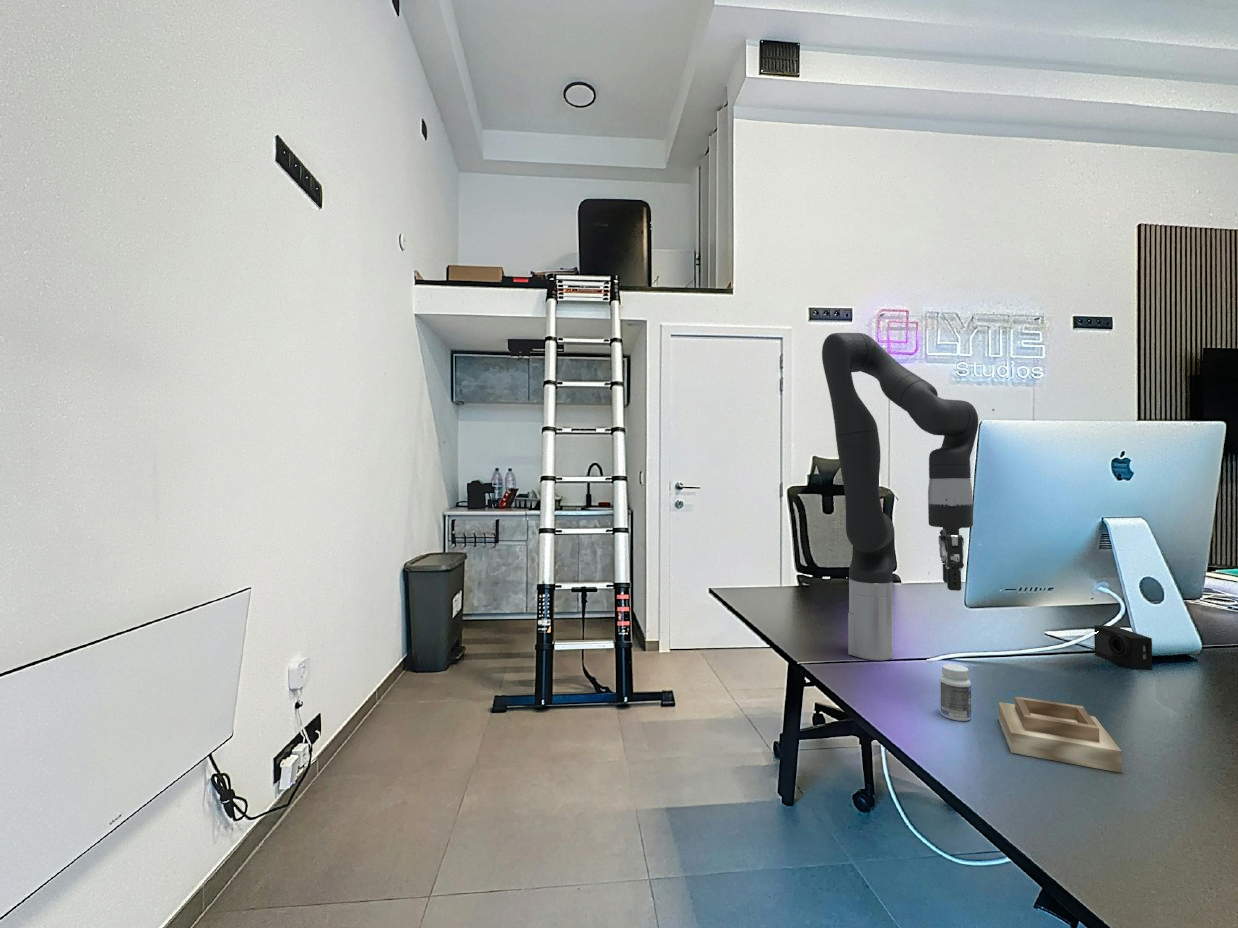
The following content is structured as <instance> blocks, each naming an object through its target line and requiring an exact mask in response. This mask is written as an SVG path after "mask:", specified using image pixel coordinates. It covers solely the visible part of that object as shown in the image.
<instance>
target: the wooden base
mask: <svg viewBox="0 0 1238 928" xmlns="http://www.w3.org/2000/svg"><path fill="white" fill-rule="evenodd" d="M998 721H999V722H998V723H999V724H1000V727H1001V730H1002V732H1003V734H1004V737H1005V740H1006V742H1007V745H1008V747H1009V751H1010V753H1011V754H1017V755H1023V756H1028V757H1033V758H1039V759H1044V760H1050V761H1056V762H1062V763H1066V764H1071V765H1078V766H1082V767H1088V768H1094V769H1100V770H1103V771H1104V770H1105V771H1108V772H1109V771H1111V772H1115V773H1120V774H1122V773H1123V766H1122V765H1123V762H1122V760H1123V759H1122V758H1123V757H1122V756H1123V755H1122V750H1121V748H1120V747H1119V746H1118V745H1117V744H1116V742H1115V740H1114V739H1113V738H1112V737H1111V736H1110V734H1109V733H1108V732H1107V731H1106V729H1105V728H1104V727H1103V725H1102V724H1101V723H1100V722H1099V720H1098V719H1097V718H1096V716H1092V715H1089V713H1088V711H1087V710H1086V709H1085V707H1084V706H1083V705H1077V704H1069V703H1062V702H1055V701H1051V700H1050V701H1049V700H1041V699H1035V698H1027V697H1022V696H1014V703H1007V702H1000V701H998Z"/></svg>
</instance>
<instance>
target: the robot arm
mask: <svg viewBox="0 0 1238 928" xmlns="http://www.w3.org/2000/svg"><path fill="white" fill-rule="evenodd" d="M821 348H822V350H821V359H822V360H821V361H822V365H823V369H824V370H823V371H824V375H825V379H826V384H827V388H828V392H829V397H830V402H831V409H832V416H833V421H834V430H835V431H834V432H835V441H836V448H837V455H838V461H839V468H840V473H841V479H842V483H843V489H844V498H845V499H844V501H845V502H844V504H845V533H846V538H847V539H848V541H849V543H850V544H851V545H852V551H851V552H852V553H851V554H852V555H851V560H850V561H851V562H850V565H849V570H848V573H849V574H848V590H849V591H848V599H849V600H848V608H849V609H848V613H847V615H848V616H847V620H848V621H847V636H848V637H847V639H848V640H847V645H848V646H847V647H848V648H847V649H848V650H847V653H848V655H849V656H854V657H857V658H860V659H864V660H871V661H887V660H892V659H893V655H894V653H893V650H894V649H893V648H894V646H893V645H894V644H893V638H894V636H893V633H894V631H893V627H894V626H893V622H894V621H893V619H894V618H893V616H894V615H893V613H894V612H893V610H894V609H893V573H894V572H893V571H894V569H895V545H896V543H895V542H896V541H895V539H896V536H895V533H896V532H895V527H894V523H893V521H892V520H891V518H890V517H889V515H887V514H886V513H884V511H883V507H882V503H881V498H880V497H881V496H880V491H879V490H880V489H879V483H880V482H879V481H880V472H881V471H880V470H881V444H880V436H879V430H878V429H879V428H878V425H877V422H876V419H875V417H874V416H873V415H872V413H871V411H870V410H869V409H868V407H867V406H866V405H865V403H864V402H863V401H862V399H861V398H860V396H859V395H858V393H857V391H856V388H855V384H854V380H853V375H852V373H857V372H861V373H864V374H866V375H869V376H872V377H873V378H874V379H876V380H877V381H878V383H879V386H880V388H881V391H882V393H883V394H884V395H885V397H886V398H887V399H888V400H889V401H890V402H892V403H893V404H895V405H897V406H898V408H899V407H900V408H901V409H903V411H905V412H907V414H908V415H909V417H910V418H911V419H912V420H913V422H914V423H915V424H916V425H917V427H919V428H920V429H921V430H922V431H924V432H926V433H928V434H930V435H933V436H943V439H942V444H941V446H940V448H935V449H934V450H932V451H930V453H929V456H928V478H929V479H928V488H927V504H928V505H927V506H928V507H927V509H928V510H927V511H928V513H927V514H928V525H929V526H930V527H935V528H942V529H940V530H939V535H938V545H939V546H938V547H939V550H938V551H939V557H940V562H941V564H942V580H943V582H944V583H945V584H947V585H946V586H947V587H946V588H947V589H948V590H949V591H954V592H955V591H956V592H957V591H958V592H959V591H961V590H962V570H963V569H964V566H965V564H964V557H965V554H964V545H965V544H964V543H965V540H964V537H963V535H961V534H960V529H967V528H972V527H973V526H974V503H973V502H974V501H973V498H974V496H973V495H974V493H973V486H972V480H971V478H972V477H971V476H972V475H971V473H972V472H971V471H972V470H971V456H972V452H973V449H974V445H975V440H976V436H977V433H978V428H979V416H978V412H977V409H976V408H975V406H974V405H973V404H972V403H971V402H969V401H966V400H959V399H945V398H941V397H940V396H938V395H939V394H938V390H937V388H935V386H934V385H932V384H931V383H930V382H928V381H926V380H925V379H923V378H922V377H920V376H919V375H917V374H916V373H913V371H910V370H909V369H907V368H906V367H904V365H902V364H900V362H898V361H897V360H896V359H895V358H894V357H892V356H891V355H890V354H889V353H888V352H887V351H886V350H885V349H884V348H883V347H882V346H881V345H880V344H879V343H878V342H877V341H876V340H875V339H874V338H872V337H871V335H870V336H869V335H868V334H866V333H862V332H834V333H831V334H829V335H828V336H826V337H825V339H824V341H823V343H822V347H821Z"/></svg>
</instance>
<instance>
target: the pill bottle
mask: <svg viewBox="0 0 1238 928" xmlns="http://www.w3.org/2000/svg"><path fill="white" fill-rule="evenodd" d="M969 671H970V670H969V668H968V667H966V666H964V665H961V664H956V663H945V664H943V665H941V674H942V675H941V676H940V678H939V713H940V714H941V715H942V716H943V717H944V718H947V719H949V720H952V721H959V722H968V721H970V720H971V719H972V683H971V680H970V679H969V676H970V673H969Z"/></svg>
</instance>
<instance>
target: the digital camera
mask: <svg viewBox="0 0 1238 928" xmlns="http://www.w3.org/2000/svg"><path fill="white" fill-rule="evenodd" d="M1109 625H1110V624H1109ZM1093 627H1094V629H1093V635H1094V637H1093V638H1094V640H1093V641H1094V645H1093V646H1094V655H1095V656H1097V657H1100V658H1102V659H1105V660H1106V661H1110V662H1112V663H1114V664H1117V665H1120V666H1122V667H1125V668H1128V669H1130V670H1133V671H1135V670H1136V671H1138V670H1139V671H1152V670H1153V638H1151V637H1149V636H1146V635H1143V634H1140V633H1138V632H1134V631H1131V630H1127V629H1126V628H1121V627H1118V626H1115V625H1110V626H1107V625H1106V624H1103V625H1102V624H1099V625H1098V624H1097V625H1096V624H1095V625H1094V626H1093ZM1097 631H1099V632H1098V633H1097V634H1094V632H1097Z"/></svg>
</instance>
